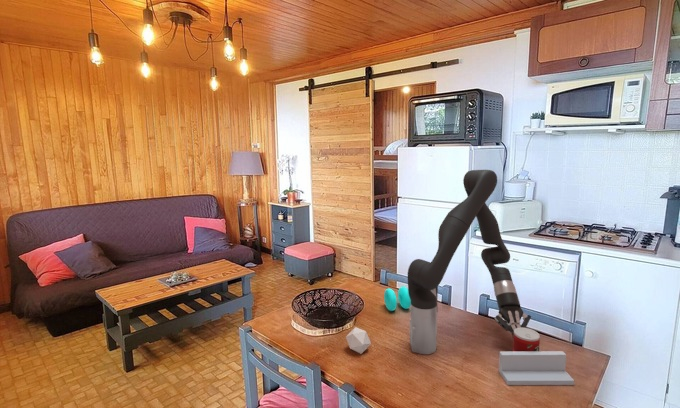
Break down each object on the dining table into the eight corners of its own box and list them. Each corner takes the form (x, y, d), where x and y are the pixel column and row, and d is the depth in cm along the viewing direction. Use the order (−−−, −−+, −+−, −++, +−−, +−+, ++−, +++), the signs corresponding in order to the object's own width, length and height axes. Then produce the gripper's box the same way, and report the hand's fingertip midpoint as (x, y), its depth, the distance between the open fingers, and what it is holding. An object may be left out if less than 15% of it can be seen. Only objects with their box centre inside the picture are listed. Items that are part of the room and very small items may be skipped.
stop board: (507, 385, 112) (508, 364, 111) (498, 371, 119) (499, 351, 118) (574, 385, 111) (575, 364, 110) (561, 370, 118) (562, 351, 117)
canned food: (528, 373, 117) (530, 341, 115) (507, 360, 124) (508, 331, 122) (543, 365, 121) (545, 335, 119) (521, 353, 128) (522, 325, 126)
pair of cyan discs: (383, 305, 169) (383, 285, 168) (403, 302, 172) (403, 282, 170) (391, 315, 160) (391, 294, 158) (412, 312, 162) (412, 291, 160)
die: (375, 351, 134) (369, 324, 138) (368, 351, 126) (361, 323, 131) (355, 356, 136) (349, 330, 140) (346, 357, 129) (341, 329, 133)
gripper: (491, 291, 133) (503, 340, 123) (527, 290, 133) (542, 339, 123) (485, 298, 140) (496, 345, 130) (520, 298, 139) (534, 345, 129)
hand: (519, 342), depth 126 cm, fingers closed
